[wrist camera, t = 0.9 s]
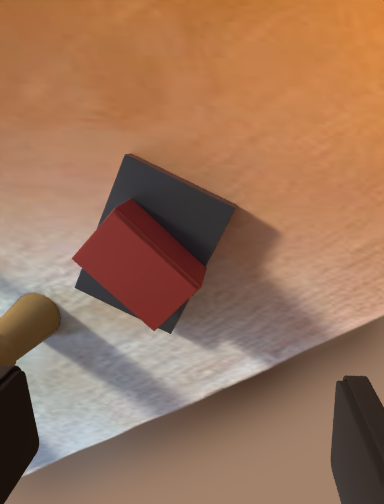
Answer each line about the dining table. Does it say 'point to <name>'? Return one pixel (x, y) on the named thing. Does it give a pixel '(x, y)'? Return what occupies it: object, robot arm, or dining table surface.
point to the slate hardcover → (165, 218)
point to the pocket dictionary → (141, 264)
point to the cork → (26, 326)
